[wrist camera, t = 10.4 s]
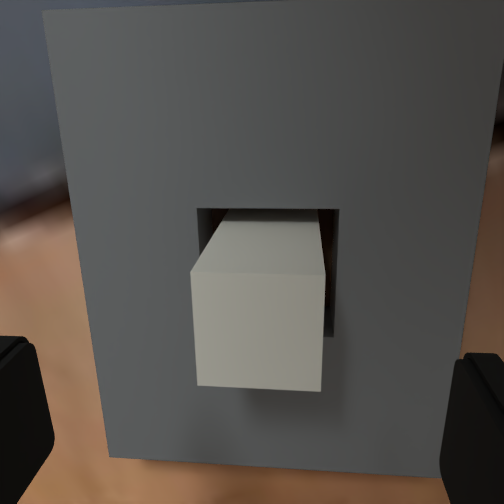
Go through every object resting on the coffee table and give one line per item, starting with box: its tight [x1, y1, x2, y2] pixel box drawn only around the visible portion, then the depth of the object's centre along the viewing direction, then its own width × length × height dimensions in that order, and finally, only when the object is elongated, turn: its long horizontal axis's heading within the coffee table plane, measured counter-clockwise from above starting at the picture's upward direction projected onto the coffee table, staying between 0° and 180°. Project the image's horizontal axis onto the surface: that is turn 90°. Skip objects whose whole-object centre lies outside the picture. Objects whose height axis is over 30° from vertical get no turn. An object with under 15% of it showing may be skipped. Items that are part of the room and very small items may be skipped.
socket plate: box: [42, 0, 504, 478], centre depth 20 cm, size 20×16×3 cm
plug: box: [190, 208, 326, 392], centre depth 18 cm, size 4×4×8 cm
